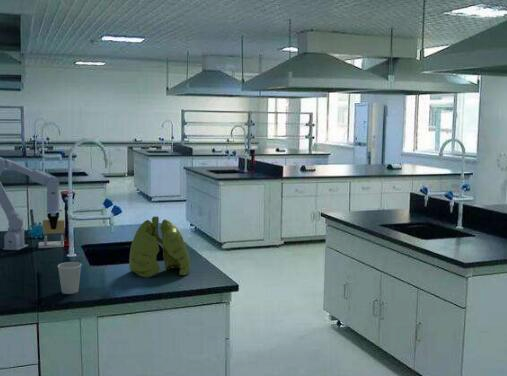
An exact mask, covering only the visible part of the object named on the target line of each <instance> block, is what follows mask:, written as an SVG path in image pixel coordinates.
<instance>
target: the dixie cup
mask: <svg viewBox="0 0 507 376" xmlns="http://www.w3.org/2000/svg"><path fill="white" fill-rule="evenodd" d="M82 265H83V264H82V263H81V262H78V261H77V262H76V261H68V262H67V261H66V262H62V263H59V264H58V265H57V268H58V269H57V270H58V276H59V282H60V288H61V293H62V294H63V295H65V294H66V295H73V294H76V293H79V288H80V287H79V286H80V280H81V279H80V278H81V270H82Z"/></svg>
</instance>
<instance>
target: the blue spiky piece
mask: <svg viewBox="0 0 507 376" xmlns="http://www.w3.org/2000/svg"><path fill="white" fill-rule="evenodd" d="M33 225H34V226H33ZM27 231H28V232H27V233H28V235H30V237H31V238H34V239H35V240H38V238H39V239H43V237H44V236H47V237H49V234H43V224H42V222H40V221H39V222H38V223H37V222H34V223H33V224H30V225H29V227H28V228H27ZM42 235H43V236H42Z"/></svg>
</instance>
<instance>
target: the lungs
mask: <svg viewBox="0 0 507 376" xmlns="http://www.w3.org/2000/svg"><path fill="white" fill-rule="evenodd" d="M159 220H160V218H159V216H152V218H151V220H149V219H146V220H144V221H143V222H142V224H141V225H140V226H139V227H138V229H137V230H136V233H135V234H134V237H133V240H132V242H131V245H130V250H129V259H128V261H129V262H128V264H129V266H128V267H129V271H131V272H134V273H135V274H136V275H138V276H140V277H143V278H150V277H153V276H155V275H157V274H158V273H159V271H160V265H159V264H158V261H157V255H158V253H159V252H160V245H159V244H161V245H162V250H163V251H162V256H163V263H164V269H165V270H169V269H168V268H170V269H172V268H174V267H175V268H180V269H179V272H178V274H179V275H180V276H181V275H185V276H186V275H188V273H189V272H190V270H191V260H190V254H189V250H188V248H187V244H186V243H185V241H184V237H183V235H182V234H181V232H180V230H179V228H178V227H177V226H175V224H173V222H171V221H170V220H168V219H163V220H162V221H161V223H160V230H161V238H162V239H161V238H160V235H159V222H160V221H159Z"/></svg>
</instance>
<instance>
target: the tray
mask: <svg viewBox="0 0 507 376" xmlns="http://www.w3.org/2000/svg"><path fill="white" fill-rule="evenodd" d="M43 238H44V239H43V241H39V242H38V248H37V249H49V248H51V249H52V248H65V247H64V241H65V240H64V234H61V235H60V240H58V241H48V236H47V235H46V236H44V235H43Z"/></svg>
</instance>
